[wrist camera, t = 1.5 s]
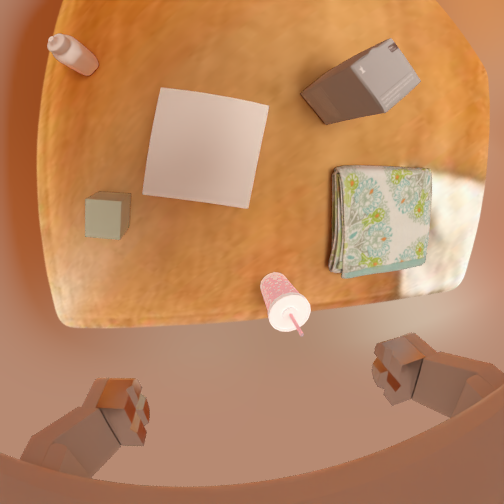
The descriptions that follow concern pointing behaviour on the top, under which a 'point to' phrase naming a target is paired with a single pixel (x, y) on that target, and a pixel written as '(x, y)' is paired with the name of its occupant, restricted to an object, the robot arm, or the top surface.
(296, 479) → the robot arm
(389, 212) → the towel
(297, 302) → the beverage cup
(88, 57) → the eye dropper bottle
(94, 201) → the green block
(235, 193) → the storage box
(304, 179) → the top surface
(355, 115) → the skincare box
